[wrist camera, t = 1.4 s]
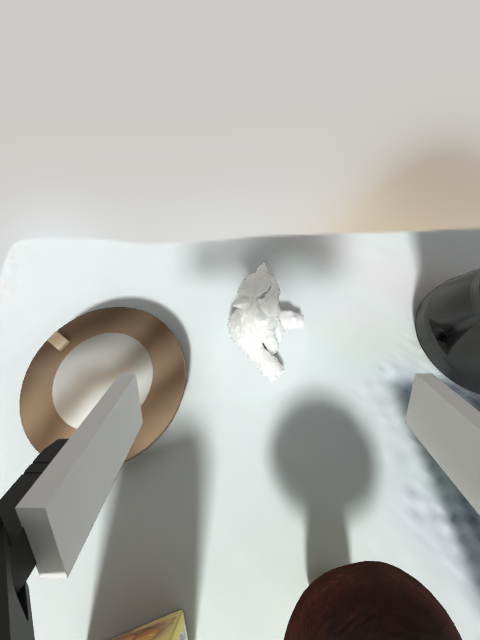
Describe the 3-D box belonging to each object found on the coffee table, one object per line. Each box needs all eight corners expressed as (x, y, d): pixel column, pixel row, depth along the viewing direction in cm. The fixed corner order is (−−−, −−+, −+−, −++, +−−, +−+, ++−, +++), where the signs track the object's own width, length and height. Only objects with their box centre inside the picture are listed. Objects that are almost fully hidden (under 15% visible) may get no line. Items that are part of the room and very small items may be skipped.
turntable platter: (217, 363, 33) (216, 359, 32) (102, 511, 27) (94, 514, 26) (111, 286, 38) (105, 280, 37) (-7, 399, 32) (-19, 396, 31)
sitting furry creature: (277, 387, 34) (292, 354, 23) (212, 357, 35) (198, 313, 25) (305, 320, 37) (329, 265, 26) (245, 296, 39) (244, 235, 28)
